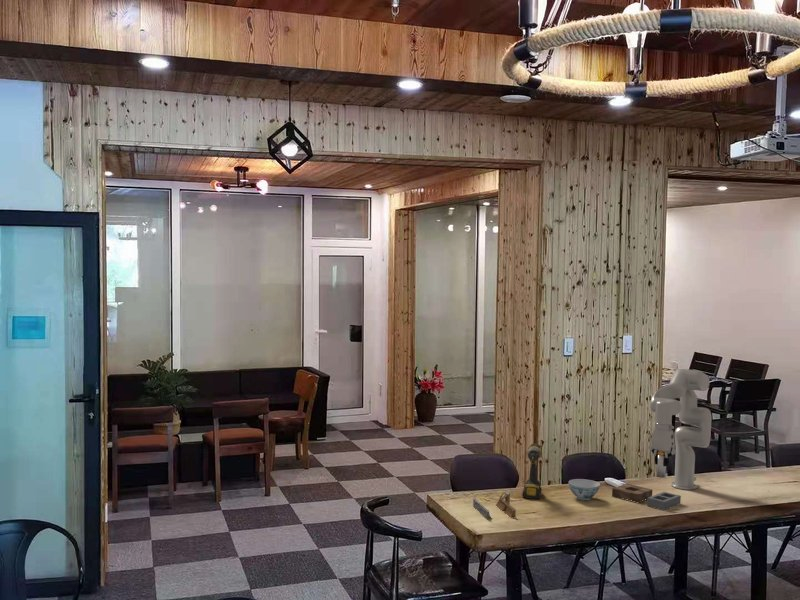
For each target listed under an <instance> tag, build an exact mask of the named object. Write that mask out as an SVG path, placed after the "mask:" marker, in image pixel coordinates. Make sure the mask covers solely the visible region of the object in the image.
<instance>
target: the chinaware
mask: <svg viewBox="0 0 800 600" xmlns="http://www.w3.org/2000/svg"><path fill="white" fill-rule="evenodd" d="M568 486H569V489H570V491H571V493H572V494H573V495H574V496H575V497H576V499H577V500H579V499H580V501H584V500H587V501H590V500H591V499H592V498H594V496H596V495H597V493H598V492H599V489H600V487H601V484H600V483H599V482H598V481H595V480H591V479H584V478H574V479H569V481H568Z"/></svg>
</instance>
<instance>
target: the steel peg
mask: <svg viewBox="0 0 800 600" xmlns="http://www.w3.org/2000/svg"><path fill="white" fill-rule="evenodd" d="M664 458H665V451H658V456H657V464H656V477H657V478H661V479H662V478H663V479H664V478H666V474H667V466H664Z"/></svg>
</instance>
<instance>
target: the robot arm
mask: <svg viewBox="0 0 800 600" xmlns="http://www.w3.org/2000/svg"><path fill="white" fill-rule="evenodd" d="M709 387H710V378H709V376H708V375H707V373H704V372H703V371H701V370H698V369H697V370H696V369H685V368H680V369H679V368H678V369H677V370H676V371H675V372H674V373H673V375H672V377H671V380H670V381H669V383H668V384H667V385H665V386H663V387H661V388H659V389H657V390H656V391H655V392H654V393H653V395H652V397H651V399H650V401H649V408H650V411H651V412H653V413H654V414H655V417H654V428H653V430H652V434H651V441H650V444H649V446H648V450H650V451H651V452H652V454H653V456H654V465H657V456H658V451H665V458H664V466H666V467H668V466H669V464H670V458H671V457H672V456H674V455H675V459H674V462H675V464H674V481H672V482H671V483H670V484H671V486H672V487H673V488H675V489H679V490H686V491H687V490H689V491H690V490H691V491H692V490H696V489H697V488H698V486H697V484H695V482H696V481H697V477H695V468H696V467H695V466H696V465H695V464H696V463H695V462H696V455H695V454H696V453H695V451H694V449H693V447H695V448H696V447H698V448H708V447H709V446H710V443H711V434H712V433H711V431H712V419H713V418H712V412H711V410H710V409H709V408H707V407H700V406H699V407H698V395H697V393H696V392H695V391H700V392H706V391H707V390H708V389H709ZM678 398H679V400H677V399H678ZM677 415H678V420H679V422H680V423H682V424H684V425H692V426H699V427H700V428H699V427H691V426H684V425H683V426H678V427H675V426H674V425H673V423H672V421H673V416H677ZM674 429H675V430H674Z"/></svg>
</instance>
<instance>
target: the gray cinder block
mask: <svg viewBox="0 0 800 600" xmlns="http://www.w3.org/2000/svg"><path fill="white" fill-rule="evenodd" d="M681 500H682V497H681V495H679V494H675V493H671V492H668V491H667V492H666V491H662V492H659V493H657V494H654V495H653V494H652V496H651V497H648V498H647V501H646V507H649V506H651V507H650V508H653V507H655V508H654V509H657V508H659V509H658V510H661V509H662V510H661V511H666V510H668V508H669V509H671V508H674V507H676V506H678V504H679V505H681ZM673 506H674V507H673ZM670 507H671V508H670Z"/></svg>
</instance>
